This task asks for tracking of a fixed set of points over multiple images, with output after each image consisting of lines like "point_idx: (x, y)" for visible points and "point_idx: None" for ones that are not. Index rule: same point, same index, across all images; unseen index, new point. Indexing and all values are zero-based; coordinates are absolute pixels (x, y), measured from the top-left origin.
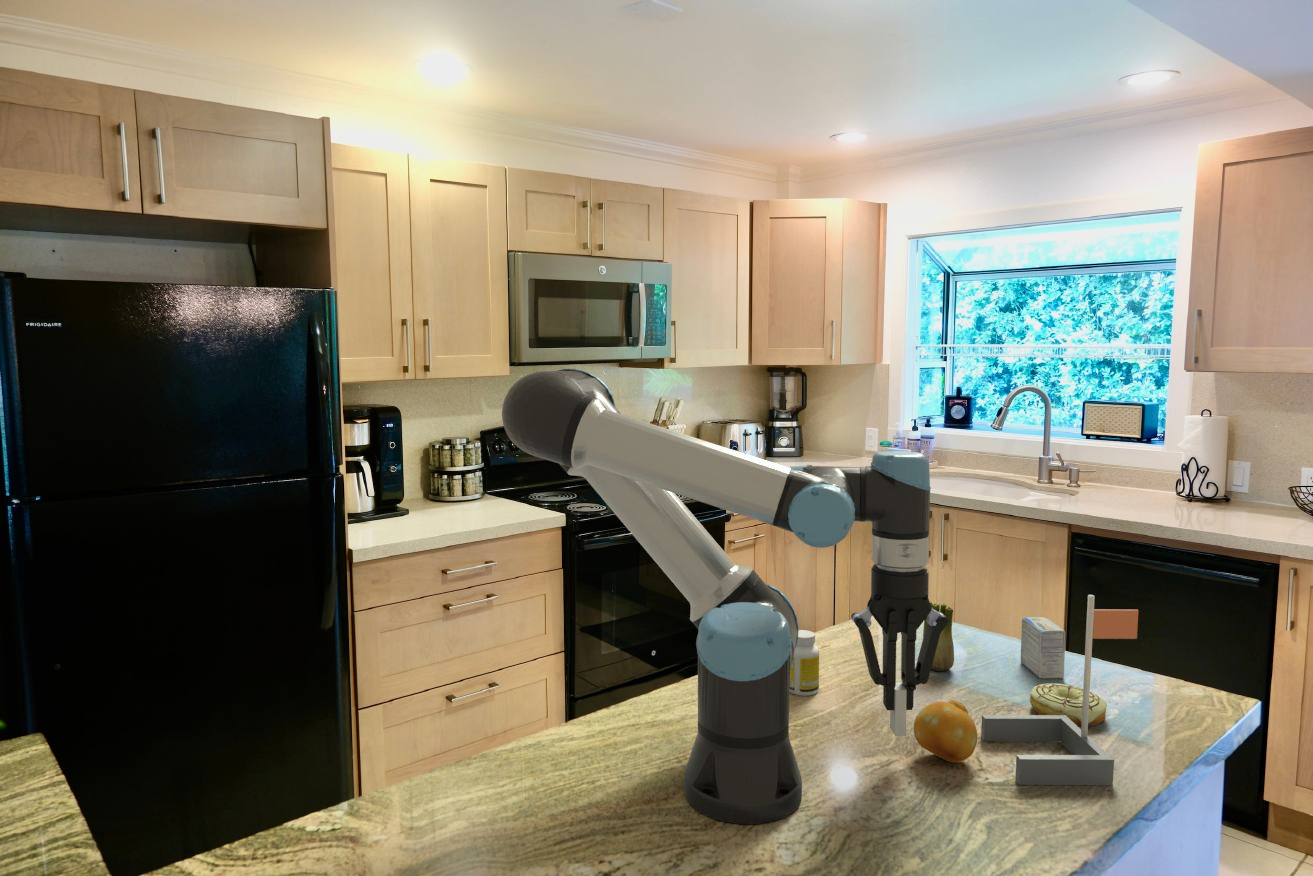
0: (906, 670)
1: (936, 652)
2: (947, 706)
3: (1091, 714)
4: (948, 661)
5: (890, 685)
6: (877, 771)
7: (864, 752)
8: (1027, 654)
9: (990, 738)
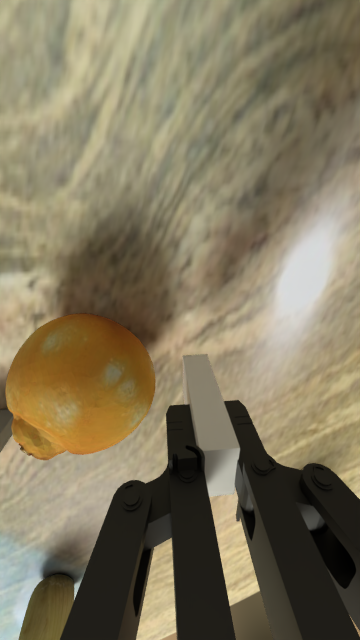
0: (216, 546)
1: (52, 614)
2: (62, 424)
3: None
4: (39, 596)
5: (266, 463)
6: (235, 301)
7: (236, 362)
8: None
9: (3, 413)
